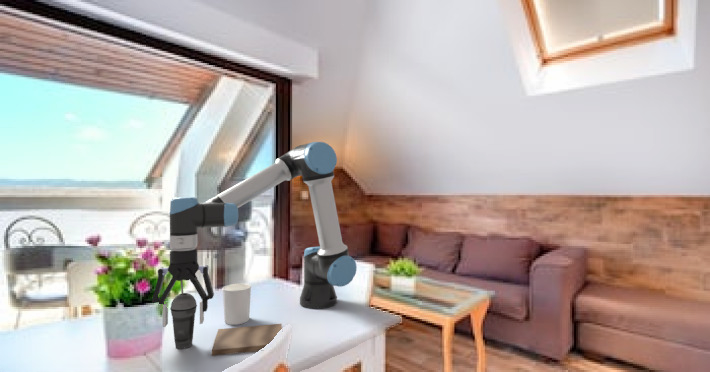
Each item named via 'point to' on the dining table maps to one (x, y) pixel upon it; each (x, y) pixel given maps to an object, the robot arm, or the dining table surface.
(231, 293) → the candle holder
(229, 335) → the walnut board
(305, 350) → the dining table surface
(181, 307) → the beverage cup
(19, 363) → the dining table surface
